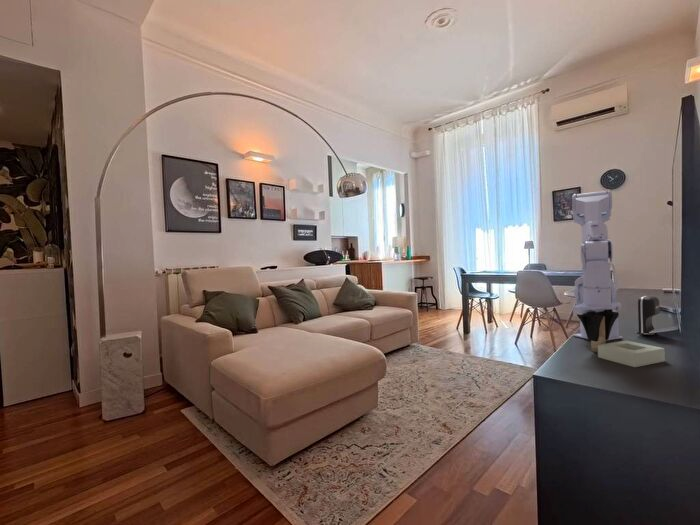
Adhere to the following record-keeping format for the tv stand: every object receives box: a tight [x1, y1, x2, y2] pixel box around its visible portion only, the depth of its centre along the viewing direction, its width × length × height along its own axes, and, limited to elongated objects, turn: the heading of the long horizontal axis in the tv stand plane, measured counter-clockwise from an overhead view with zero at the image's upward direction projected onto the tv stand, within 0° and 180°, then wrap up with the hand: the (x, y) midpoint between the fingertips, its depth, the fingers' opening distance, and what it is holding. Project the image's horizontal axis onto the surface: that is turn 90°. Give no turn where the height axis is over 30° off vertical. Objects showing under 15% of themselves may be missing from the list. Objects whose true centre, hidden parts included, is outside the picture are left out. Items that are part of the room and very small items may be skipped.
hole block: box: [597, 340, 666, 368], centre depth 79 cm, size 10×8×3 cm
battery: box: [637, 295, 661, 335], centre depth 100 cm, size 7×4×11 cm, turn 126°
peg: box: [590, 317, 606, 353], centre depth 86 cm, size 3×3×9 cm
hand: (598, 339), depth 86 cm, fingers open, 3 cm apart
